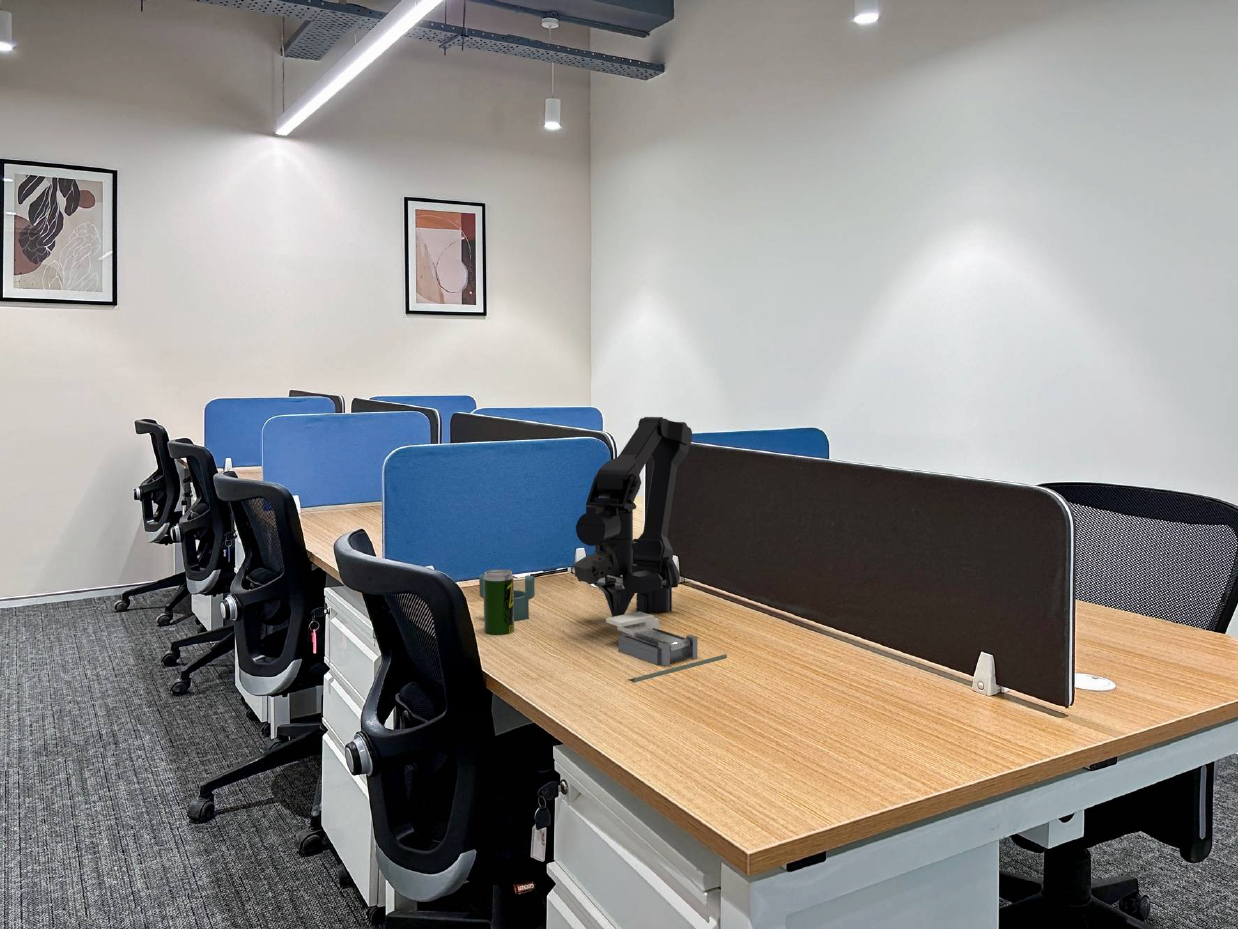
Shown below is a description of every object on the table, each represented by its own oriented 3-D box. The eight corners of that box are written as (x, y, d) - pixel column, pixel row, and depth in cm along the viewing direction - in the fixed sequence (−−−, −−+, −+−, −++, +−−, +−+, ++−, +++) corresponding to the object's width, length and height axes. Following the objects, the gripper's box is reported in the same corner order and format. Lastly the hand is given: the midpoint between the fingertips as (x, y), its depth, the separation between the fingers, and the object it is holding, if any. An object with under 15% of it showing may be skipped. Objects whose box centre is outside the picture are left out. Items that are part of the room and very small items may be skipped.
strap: (632, 627, 162) (633, 620, 162) (690, 648, 151) (690, 640, 151) (614, 631, 160) (614, 623, 160) (671, 653, 148) (671, 644, 148)
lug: (644, 635, 166) (644, 610, 165) (658, 640, 162) (658, 614, 162) (606, 643, 160) (606, 618, 160) (620, 649, 157) (620, 622, 157)
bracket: (537, 622, 180) (537, 576, 179) (493, 628, 175) (493, 581, 175) (518, 612, 188) (518, 568, 187) (475, 618, 183) (475, 573, 182)
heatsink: (654, 643, 161) (654, 622, 161) (699, 658, 152) (699, 636, 152) (618, 652, 156) (618, 630, 156) (662, 668, 147) (662, 644, 147)
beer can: (484, 642, 166) (483, 576, 165) (484, 634, 171) (483, 569, 170) (514, 641, 167) (513, 575, 166) (513, 633, 172) (512, 569, 171)
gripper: (550, 535, 170) (551, 619, 171) (614, 549, 155) (614, 641, 157) (599, 528, 177) (599, 609, 178) (664, 542, 162) (664, 629, 164)
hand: (617, 621), depth 169 cm, fingers closed
